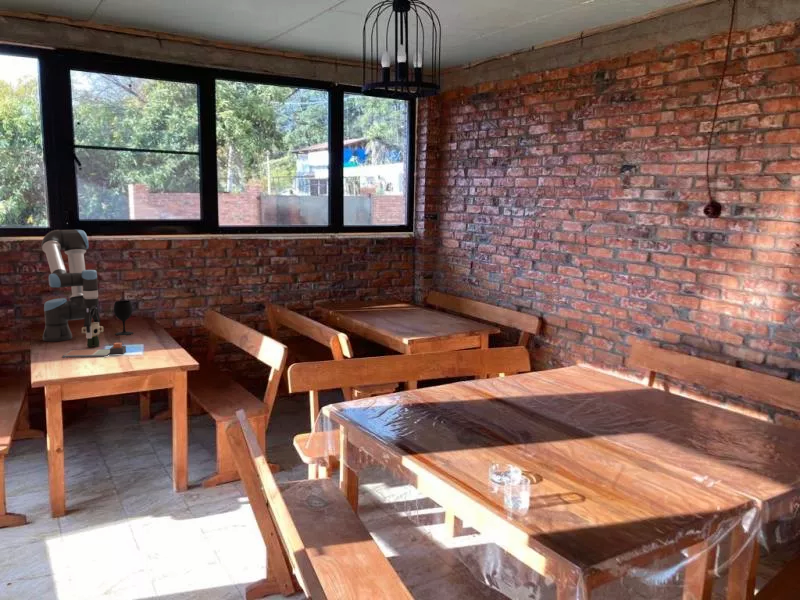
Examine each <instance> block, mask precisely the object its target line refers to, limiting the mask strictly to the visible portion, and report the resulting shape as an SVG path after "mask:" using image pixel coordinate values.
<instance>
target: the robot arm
mask: <svg viewBox="0 0 800 600" xmlns="http://www.w3.org/2000/svg"><path fill="white" fill-rule="evenodd" d="M89 245H90V244H89V239H88V235H87V233H86V232H85V231H84V230H82V229H54V230H51V231H49V232H48V233H46V234H45V235H44V237H43V238H42V241H41V249H42V252H43V253H44V254H45V256H46V259H47V263H48V266H49V270H50V274H48V285H49V287H51V288H69V287H71V295H70V296H69V300H67V298H65V297H61V298H53V299H49V300H47V301H45V302H44V304H43V305H44V306H43V311H44V324H45V325H44V330H43V334H42V341H44V342H62V341H68V340H71V339H73V333H72V331H71V329H70V326H69V321H76V320H84V323H83V327H86V333H85V337H86V339H88V338H92V329H91V323H99V324H100V323H101V318H100V314H99V313H100V312H99V310H98V308H99V307H98V305H100V304H99V302H100V301H99V288H98V273H97V272H98V271H97V270H95V269H86V263H85V254H86V253H87V250H88V249H89V248H90V246H89ZM61 250H64V254H65V255H67V259H68V268H69V272H67V268H66V266H65V263H64V259H63V256H62V253H61ZM92 321H93V322H92Z"/></svg>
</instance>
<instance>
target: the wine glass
mask: <svg viewBox="0 0 800 600" xmlns="http://www.w3.org/2000/svg"><path fill="white" fill-rule="evenodd" d="M113 312H114V315H115V317H116V318H117V319H118V320H120V321H121V322H122V327H123V328H122V331H120V332H119V331H118V332H115V334H114V335H115V336H118V335H126V336H131V334H132V335H133V334H134V332H133V331H126V321H127V320H128V319H129V318H130V317H132V315H133V304H132V302H131V300H117V301H114V305H113Z"/></svg>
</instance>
